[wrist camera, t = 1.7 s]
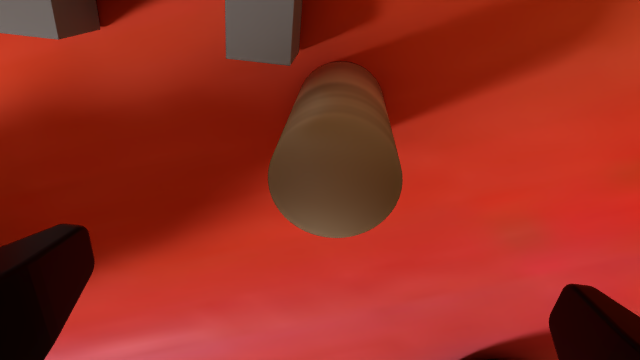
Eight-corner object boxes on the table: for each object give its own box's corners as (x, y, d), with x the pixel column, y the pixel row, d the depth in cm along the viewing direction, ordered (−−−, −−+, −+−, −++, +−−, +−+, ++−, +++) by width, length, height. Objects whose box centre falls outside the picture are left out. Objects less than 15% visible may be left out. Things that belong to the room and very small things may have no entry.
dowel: (375, 148, 18) (389, 244, 12) (295, 139, 18) (265, 229, 12) (390, 66, 16) (415, 127, 10) (301, 56, 16) (270, 111, 10)
